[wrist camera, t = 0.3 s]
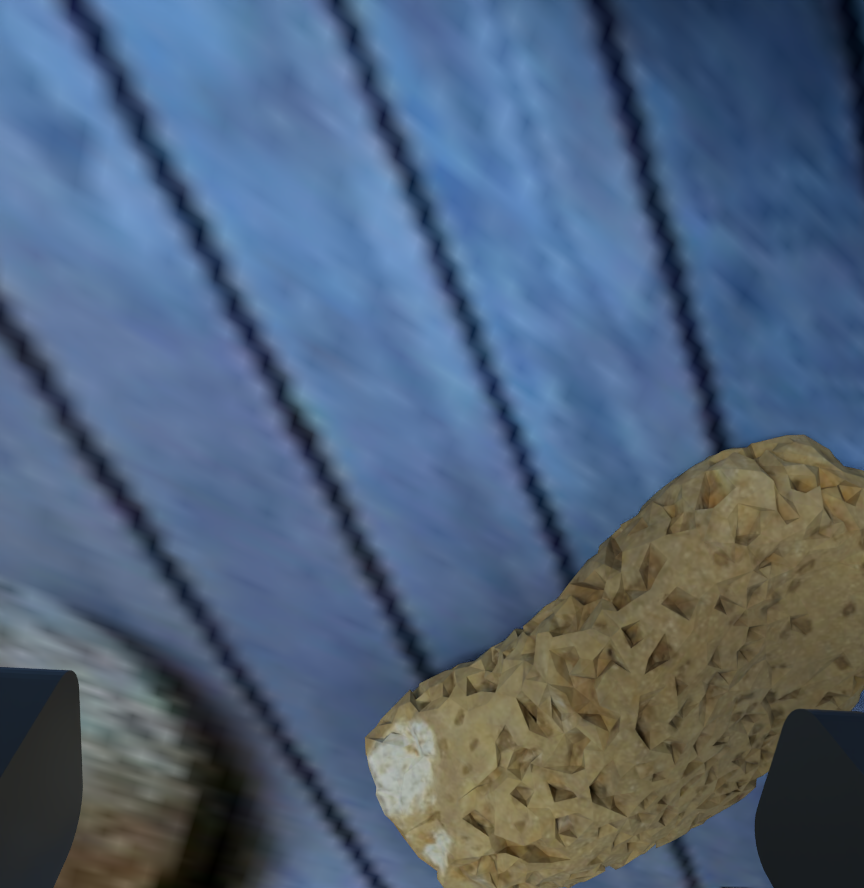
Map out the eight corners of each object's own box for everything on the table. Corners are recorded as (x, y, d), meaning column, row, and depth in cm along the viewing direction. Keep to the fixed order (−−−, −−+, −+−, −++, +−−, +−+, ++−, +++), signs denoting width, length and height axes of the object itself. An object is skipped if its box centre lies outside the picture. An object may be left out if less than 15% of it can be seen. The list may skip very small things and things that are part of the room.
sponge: (488, 809, 36) (960, 682, 29) (458, 973, 29) (1075, 855, 22) (344, 574, 33) (828, 373, 26) (271, 690, 26) (911, 455, 19)
